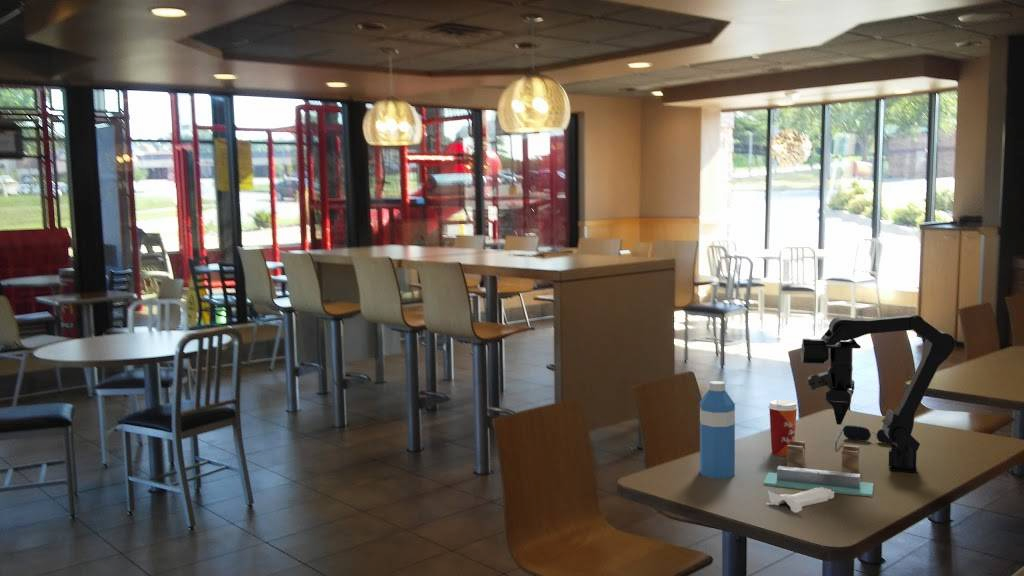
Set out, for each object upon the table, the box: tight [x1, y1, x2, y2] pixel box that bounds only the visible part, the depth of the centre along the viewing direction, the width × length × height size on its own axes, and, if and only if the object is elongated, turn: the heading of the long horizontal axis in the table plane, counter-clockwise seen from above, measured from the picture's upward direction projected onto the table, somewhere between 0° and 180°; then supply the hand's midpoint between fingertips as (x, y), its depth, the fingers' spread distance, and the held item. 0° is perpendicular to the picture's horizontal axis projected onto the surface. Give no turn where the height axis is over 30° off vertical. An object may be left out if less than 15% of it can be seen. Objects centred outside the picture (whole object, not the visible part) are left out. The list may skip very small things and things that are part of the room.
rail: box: [776, 465, 861, 489], centre depth 224 cm, size 20×3×3 cm, turn 66°
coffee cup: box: [767, 399, 799, 457], centre depth 252 cm, size 8×8×15 cm
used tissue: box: [765, 487, 835, 514], centre depth 210 cm, size 11×18×4 cm, turn 108°
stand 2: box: [841, 444, 860, 474], centre depth 234 cm, size 4×6×6 cm, turn 156°
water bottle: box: [699, 380, 736, 479], centre depth 234 cm, size 9×9×25 cm
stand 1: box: [786, 440, 806, 468], centre depth 239 cm, size 4×6×6 cm, turn 156°
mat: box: [763, 472, 874, 497], centre depth 224 cm, size 26×9×1 cm, turn 66°
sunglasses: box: [834, 424, 893, 451], centre depth 256 cm, size 17×15×5 cm
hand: (840, 420), depth 237 cm, fingers open, 9 cm apart
